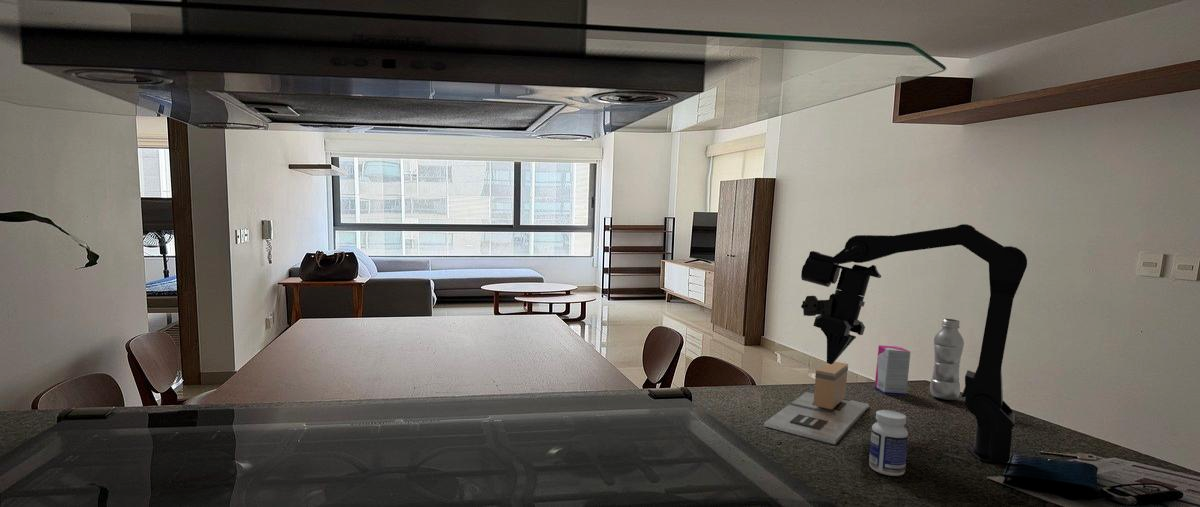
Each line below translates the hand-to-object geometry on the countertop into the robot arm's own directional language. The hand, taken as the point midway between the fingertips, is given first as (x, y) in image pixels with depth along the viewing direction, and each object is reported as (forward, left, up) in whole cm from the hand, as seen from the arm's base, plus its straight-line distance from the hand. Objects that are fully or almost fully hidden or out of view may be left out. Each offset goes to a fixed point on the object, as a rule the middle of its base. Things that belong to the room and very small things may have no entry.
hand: (829, 363), depth 124 cm
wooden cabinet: (+10, -3, -11) cm, 15 cm away
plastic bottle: (+27, -34, -13) cm, 45 cm away
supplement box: (+29, -22, -13) cm, 39 cm away
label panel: (+3, +1, -13) cm, 13 cm away
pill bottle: (-23, -6, -13) cm, 27 cm away
